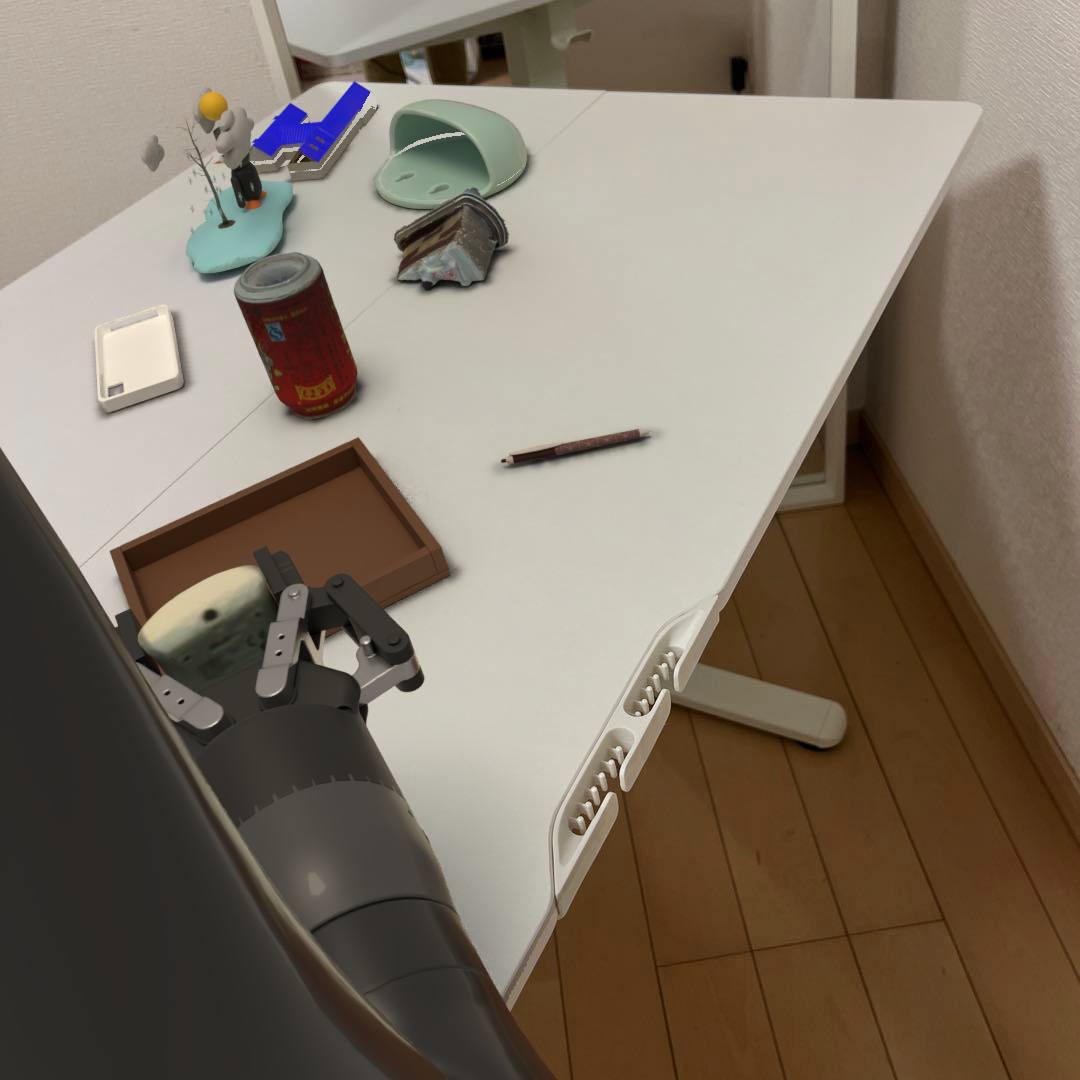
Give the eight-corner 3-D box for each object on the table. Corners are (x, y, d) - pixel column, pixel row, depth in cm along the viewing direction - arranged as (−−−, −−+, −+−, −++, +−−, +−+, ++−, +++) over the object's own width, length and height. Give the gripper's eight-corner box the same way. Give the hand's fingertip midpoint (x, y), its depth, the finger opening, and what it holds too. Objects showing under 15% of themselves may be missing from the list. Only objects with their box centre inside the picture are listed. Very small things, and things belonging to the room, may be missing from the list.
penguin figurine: (220, 202, 128) (167, 70, 118) (308, 186, 127) (262, 52, 117) (176, 289, 114) (112, 147, 104) (275, 272, 112) (219, 127, 102)
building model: (298, 115, 145) (289, 88, 143) (378, 107, 142) (370, 79, 139) (238, 185, 131) (227, 157, 129) (325, 178, 128) (315, 148, 126)
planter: (550, 92, 115) (429, 156, 108) (562, 159, 120) (447, 224, 113) (441, 67, 127) (326, 123, 120) (456, 129, 132) (346, 186, 125)
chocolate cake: (370, 295, 106) (420, 223, 96) (388, 240, 109) (438, 166, 99) (458, 338, 109) (515, 273, 99) (473, 284, 112) (529, 216, 103)
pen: (502, 469, 81) (499, 458, 80) (501, 462, 82) (499, 452, 81) (653, 437, 81) (652, 426, 80) (651, 431, 81) (650, 420, 81)
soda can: (273, 394, 95) (221, 267, 87) (350, 364, 96) (305, 236, 88) (293, 435, 90) (240, 303, 82) (374, 402, 91) (329, 270, 83)
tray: (173, 713, 69) (156, 687, 67) (124, 576, 80) (108, 550, 79) (450, 574, 74) (441, 546, 72) (368, 463, 85) (358, 436, 83)
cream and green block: (273, 773, 49) (203, 654, 44) (181, 751, 51) (104, 634, 46) (335, 676, 53) (278, 555, 47) (247, 659, 55) (182, 541, 49)
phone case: (185, 387, 98) (172, 313, 110) (179, 375, 98) (166, 301, 109) (104, 415, 98) (99, 337, 109) (97, 402, 97) (93, 326, 108)
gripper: (477, 701, 37) (319, 462, 49) (59, 922, 33) (-1, 606, 46) (521, 827, 42) (367, 581, 54) (160, 1031, 38) (81, 720, 50)
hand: (199, 594), depth 50 cm, fingers closed on cream and green block, 5 cm apart
